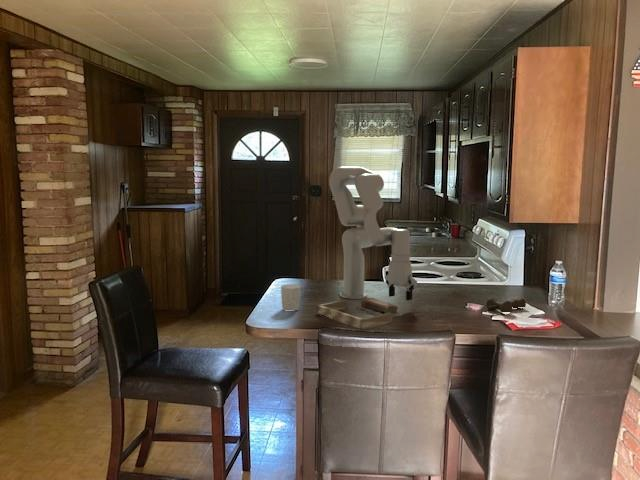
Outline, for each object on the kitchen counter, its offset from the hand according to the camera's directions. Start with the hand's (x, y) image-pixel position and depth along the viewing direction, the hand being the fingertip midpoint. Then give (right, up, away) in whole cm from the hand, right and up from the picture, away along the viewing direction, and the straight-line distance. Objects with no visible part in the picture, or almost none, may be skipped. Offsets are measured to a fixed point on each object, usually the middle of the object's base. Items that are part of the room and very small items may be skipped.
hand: (400, 298), depth 223 cm
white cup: (-47, -5, -5) cm, 47 cm away
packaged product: (-10, -6, -7) cm, 13 cm away
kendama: (+43, -6, -4) cm, 44 cm away
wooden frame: (-21, -6, -15) cm, 26 cm away
